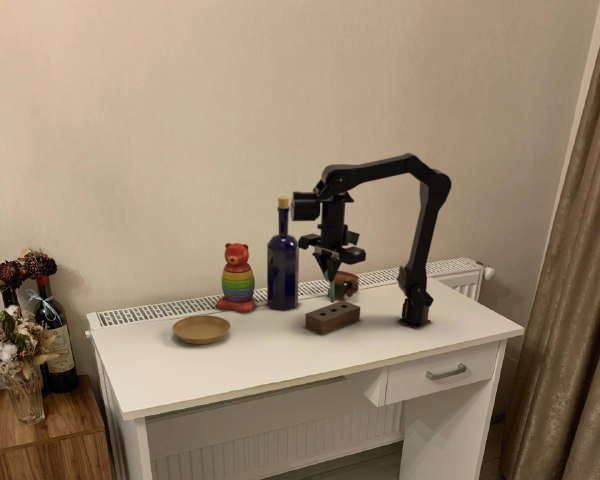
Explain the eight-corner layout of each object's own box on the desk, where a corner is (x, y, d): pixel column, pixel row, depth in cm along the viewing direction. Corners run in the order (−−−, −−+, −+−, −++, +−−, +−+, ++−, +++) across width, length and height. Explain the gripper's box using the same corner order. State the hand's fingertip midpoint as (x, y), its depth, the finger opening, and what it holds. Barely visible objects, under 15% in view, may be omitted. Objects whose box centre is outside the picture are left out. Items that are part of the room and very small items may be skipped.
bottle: (285, 313, 171) (286, 204, 156) (260, 305, 176) (259, 198, 160) (304, 303, 177) (308, 197, 162) (280, 296, 182) (281, 192, 167)
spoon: (337, 301, 162) (336, 265, 157) (327, 306, 160) (327, 270, 155) (334, 300, 163) (333, 264, 157) (324, 304, 161) (323, 269, 155)
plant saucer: (176, 351, 150) (175, 341, 148) (170, 326, 162) (169, 317, 160) (235, 345, 153) (235, 335, 152) (225, 321, 165) (225, 312, 164)
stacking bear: (213, 308, 173) (210, 246, 164) (228, 296, 181) (225, 236, 172) (248, 314, 170) (247, 251, 161) (262, 301, 178) (261, 241, 169)
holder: (359, 320, 168) (360, 306, 166) (322, 335, 159) (323, 321, 157) (342, 313, 172) (343, 300, 170) (304, 327, 163) (305, 313, 161)
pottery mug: (319, 294, 185) (327, 268, 185) (343, 303, 190) (350, 278, 190) (342, 297, 175) (350, 269, 175) (366, 307, 180) (375, 280, 180)
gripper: (383, 223, 149) (377, 284, 157) (328, 207, 160) (325, 265, 168) (352, 231, 142) (348, 294, 150) (297, 214, 154) (296, 274, 162)
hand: (329, 281), depth 158 cm, fingers closed on spoon, 1 cm apart
